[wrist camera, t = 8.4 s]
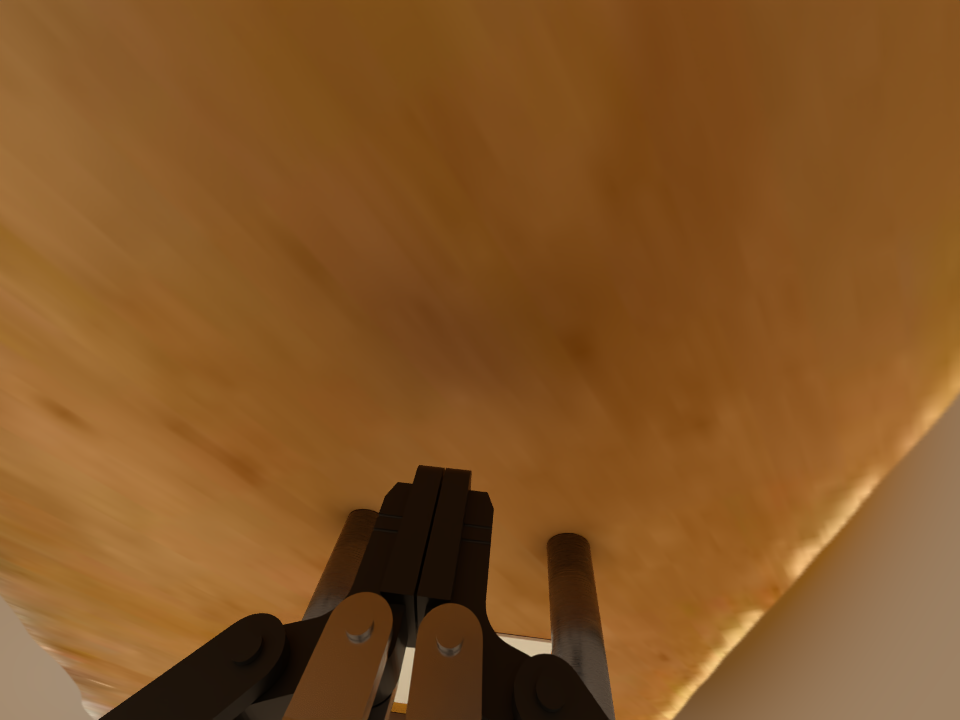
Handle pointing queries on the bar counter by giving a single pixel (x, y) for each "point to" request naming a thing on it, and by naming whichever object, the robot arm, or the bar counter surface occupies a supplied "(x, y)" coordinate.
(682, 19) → the bar counter surface
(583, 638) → the post
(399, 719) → the wall
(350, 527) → the post
